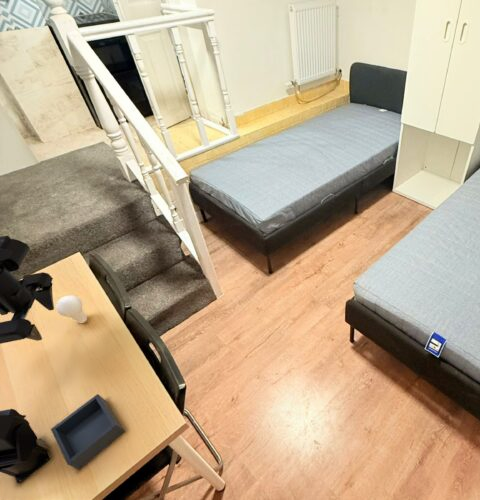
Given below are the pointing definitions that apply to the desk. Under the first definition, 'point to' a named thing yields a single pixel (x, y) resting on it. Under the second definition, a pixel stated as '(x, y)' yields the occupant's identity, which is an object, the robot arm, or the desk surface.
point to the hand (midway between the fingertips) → (46, 324)
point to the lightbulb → (71, 308)
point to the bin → (87, 432)
